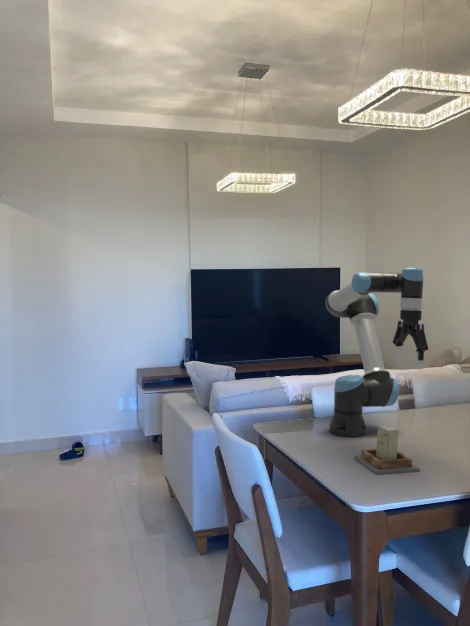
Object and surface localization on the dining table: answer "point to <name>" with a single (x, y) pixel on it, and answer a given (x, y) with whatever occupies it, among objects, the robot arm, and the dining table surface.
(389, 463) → the walnut collar
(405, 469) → the slate tray
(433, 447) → the dining table surface
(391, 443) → the skincare box
